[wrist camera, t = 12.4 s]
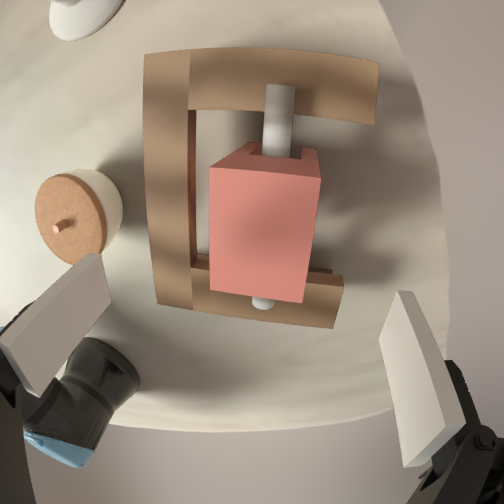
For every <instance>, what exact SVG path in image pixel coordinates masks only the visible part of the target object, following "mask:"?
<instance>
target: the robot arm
mask: <svg viewBox="0 0 504 504" xmlns="http://www.w3.org/2000/svg"><path fill="white" fill-rule="evenodd" d="M110 304H111V298H110V294H109V289H108V285H107V280H106V276H105V271H104V266H103V261H102V256H101V254H96V253H90V252H89V253H88V254H86V255H85V256H84V257H83V258H82V259H81V260H79V261H78V262H77V263H76V264H75V265H74V266H73V267H71V268H70V269H69V270H68V271H67V272H66V273H65V274H64V275H62V276H61V277H60V278H59V279H58V280H57V281H56V282H55V283H54V284H53V285H51V286H50V287H49V288H48V289H47V290H46V291H45V292H44V293H43V294H42V295H41V296H40V297H39V298H38V299H37V300H36V301H34V302H32V303H30V304H28V305H27V306H25V307H24V308H23V309H22V310H21V311H20V312H19V313H18V315H16V316H15V317H14V318H13V319H12V321H10V322H9V323H8V324H7V325H6V326H3V327H0V504H36V501H35V497H34V493H33V488H32V484H31V479H30V474H29V469H28V463H27V457H26V451H25V444H24V438H25V439H26V440H27V441H28V442H29V443H31V444H32V445H33V446H35V447H36V448H37V449H39V450H41V451H42V452H44V453H45V454H47V455H49V456H51V457H53V458H54V459H57V460H58V461H60V462H63V463H65V464H67V465H70V466H72V467H75V468H82V467H85V466H86V464H87V463H88V461H89V460H90V458H91V457H92V455H93V454H94V453H95V449H96V447H97V445H98V443H99V441H100V439H101V437H102V435H103V433H104V431H105V429H106V427H107V425H108V423H109V421H110V419H111V417H112V415H113V414H114V412H115V411H116V410H117V409H118V408H119V407H120V406H121V405H122V404H124V403H125V402H126V401H127V400H128V399H129V398H130V397H132V396H133V395H134V393H135V392H136V390H137V388H138V386H139V377H138V374H137V372H136V370H135V369H134V367H133V366H132V365H131V364H130V363H129V361H128V360H127V359H126V358H125V357H123V356H122V355H121V354H120V353H119V352H117V351H116V350H115V349H113V348H112V347H110V346H108V345H107V344H105V343H103V342H101V341H98V340H95V339H91V338H84V336H85V335H86V334H87V332H88V331H89V330H90V329H91V327H92V326H93V325H94V323H95V322H96V321H97V320H98V318H99V317H100V316H101V315H102V313H103V312H104V311H105V310H106V308H107V307H108V306H109V305H110ZM379 343H380V347H381V351H382V355H383V359H384V363H385V368H386V372H387V377H388V381H389V386H390V390H391V395H392V400H393V405H394V411H395V416H396V422H397V427H398V433H399V439H400V446H401V452H402V460H403V466H404V467H413V466H419V465H423V464H424V463H426V462H427V461H428V460H429V459H430V458H432V464H433V465H432V466H431V467H430V468H429V469H428V470H426V471H425V472H424V473H423V474H421V475H420V477H419V479H421V478H423V477H424V478H423V479H422V481H421V483H420V484H419V486H418V487H417V489H416V490H415V492H414V493H413V495H412V496H411V498H410V499H409V500H408V502H407V503H406V504H504V438H498V437H497V436H496V435H495V433H494V431H493V430H492V429H490V428H489V427H487V426H484V425H481V423H480V420H479V417H478V414H477V411H476V409H475V406H474V403H473V400H472V398H471V395H470V392H468V387H467V385H466V383H465V380H464V377H463V375H462V372H461V370H460V369H459V368H458V366H457V365H456V364H455V363H454V362H453V361H452V360H443V357H442V355H441V352H440V350H439V348H438V345H437V343H436V341H435V338H434V336H433V334H432V332H431V329H430V327H429V325H428V323H427V321H426V318H425V316H424V314H423V312H422V310H421V308H420V306H419V304H418V302H417V300H416V298H415V296H414V294H413V292H412V291H401V290H397V291H396V294H395V297H394V300H393V302H392V305H391V308H390V311H389V313H388V316H387V319H386V321H385V324H384V326H383V329H382V331H381V334H380V336H379ZM68 357H69V358H68ZM67 359H68V361H67V365H66V368H65V372H64V375H63V376H62V378H61V379H60V381H59V380H58V379H57V378H56V377H55V375H56V374H57V372H58V371H59V370H60V368H61V367H62V365H63V364H64V363H65V361H66V360H67ZM23 427H24V428H25V429H26V431H24V435H23ZM500 488H501V490H500Z"/></svg>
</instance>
